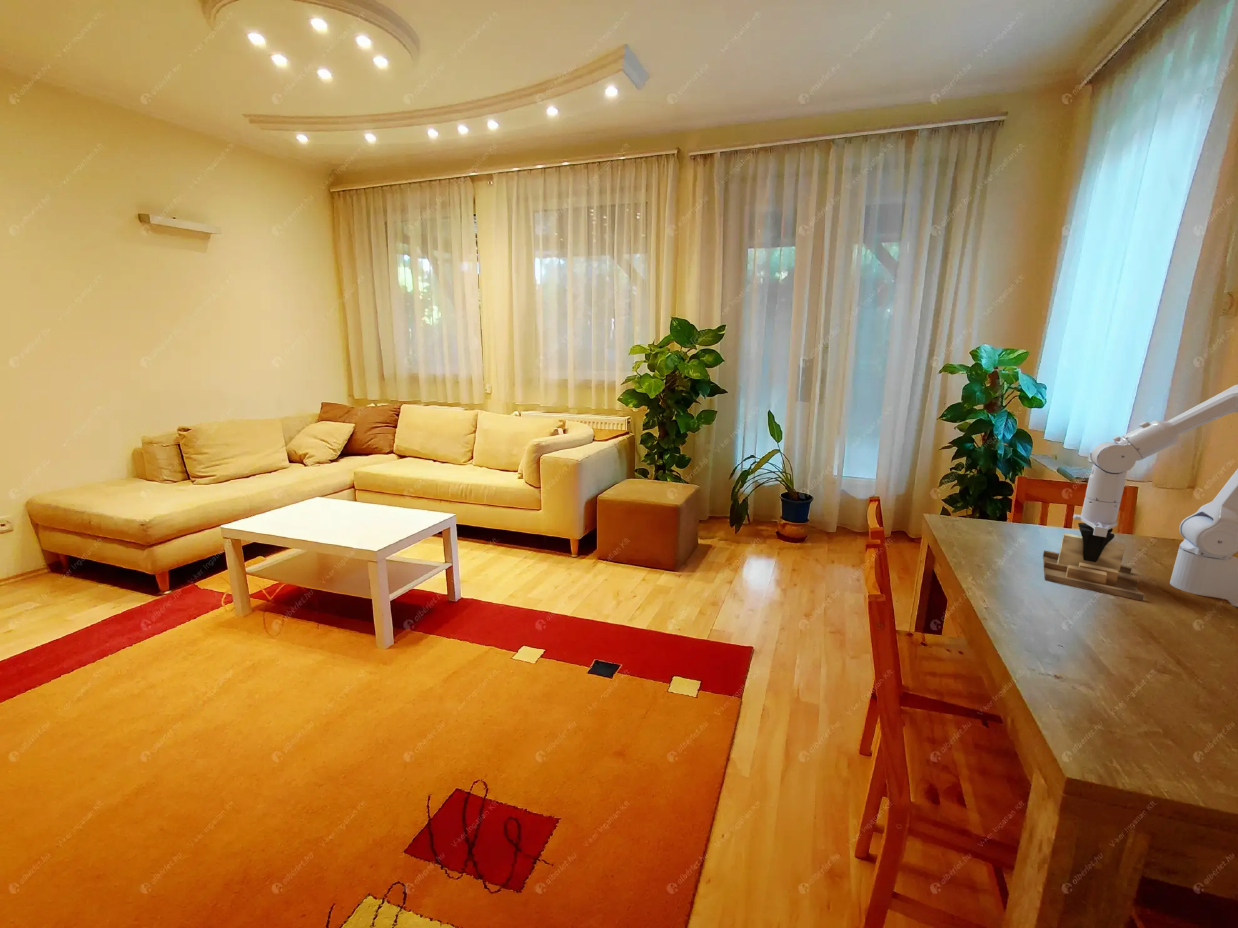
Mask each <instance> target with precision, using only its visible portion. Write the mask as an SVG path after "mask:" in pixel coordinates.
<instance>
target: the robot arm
mask: <svg viewBox="0 0 1238 928" xmlns="http://www.w3.org/2000/svg"><path fill="white" fill-rule="evenodd" d="M1233 413H1238V384H1235V385H1232V386H1231V387H1229V388H1227V389H1225V390H1224V391H1222V392H1220V393H1218V394H1215V395H1214V396H1212V397H1211V398H1208V399H1207V400H1205V401H1203V402H1200V403H1199V404H1197V405H1196V406H1194V407H1191V408H1190V409H1187V410H1186V411H1184V412H1182V413H1180V414H1178V415H1176V416H1175V417H1173V418H1171V419H1169V420H1166V421H1164V420H1157V419H1156V420H1155V419H1154V420H1152V421H1151V422H1149V421H1143V422H1140V423H1139V424H1138V426H1139V427H1138V428H1136V429H1134V430H1132V431H1129V432H1128V433H1125V434H1123V435H1122V436H1119V435H1115V436H1113V438H1112V440H1113V441H1110V442H1108V441H1107V442H1102V443H1100V444H1098V445H1096V446H1095V447H1094V449H1093V450H1092V451H1091V452H1090V453H1089V459H1090V461H1091V463H1092V467H1091V470H1090V475H1089V477H1088V481H1087V487H1086V490H1085V495H1084V496H1085V497H1084V501H1083V504H1082V509H1081V514H1076V513H1074V514H1073V516H1072V518H1073V519H1074V520H1077V521H1081V522H1078V523H1077V526H1078V529H1079V532H1080V536H1082V539H1083V559H1084V560H1086V561H1091V562H1096V561H1097V560H1098V558H1099V557H1100V555H1101V553H1102V551H1103V549H1104V548H1105V546H1106V545H1107V544H1108V543H1109V542H1110V541H1112V540H1113V539H1115V535H1116V534H1115V533H1112V532H1113V530H1114V529H1113V528H1115V527H1117V525H1118V521H1117V519H1118V515H1119V511H1120V507H1121V504H1122V503H1121V502H1122V497H1123V493H1124V489H1125V485H1126V478H1127V473H1128V471H1130V470H1131V469H1133V468H1134V466H1135V464H1136V462H1137V461H1138V462H1139V461H1143V460H1144V459H1146V458H1149V457H1150V456H1153V455H1155V454H1157V453H1160V452H1162V451H1164V450H1165V449H1168V448H1170V447H1171V446H1174V445H1176V444H1177V443H1178V441H1179V438H1180V436H1181V435H1182V434H1185V433H1187V432H1190V431H1192V430H1194V429H1196V428H1199V427H1201V426H1203V425H1206V424H1209V423H1211V422H1213V421H1215V420H1217V419H1220V418H1223V417H1224V416H1227V415H1230V414H1233ZM1178 527H1179V534H1180V536H1182V538H1183V541H1181V543H1180V544H1179V547H1178V551H1177V554H1176V558H1175V563H1174V565H1173V570H1172V573H1171V577H1170V581H1169V584H1170V586H1171V587H1174V588H1175V589H1177V590H1178V589H1179V590H1181V591H1183V592H1186V593H1190V594H1194V595H1198V596H1202V597H1211V598H1216V599H1217V598H1218V599H1222V600H1227V602H1229V603H1230V605H1231V607H1237V608H1238V557H1237V556H1233V555H1234V554H1236V553H1238V468H1237V469H1236V470H1235V472H1234V473H1233V474H1232V475H1231V476H1230V478H1229V479H1228V480H1227V481H1226V483H1225V484H1224V486H1223V487H1222V488H1221V490H1220V491H1219V492H1218V493H1217V495H1216V496H1215V497H1214V498H1213V500H1211V501H1210V502H1208V503H1206V504H1203V505H1202V506H1200V507H1199V508H1198V509H1197V511H1196V512H1195V513H1193V514H1191V515H1189V516H1187V517H1185V518H1183V520H1182V521H1181V522H1180V523H1179V526H1178Z"/></svg>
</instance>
